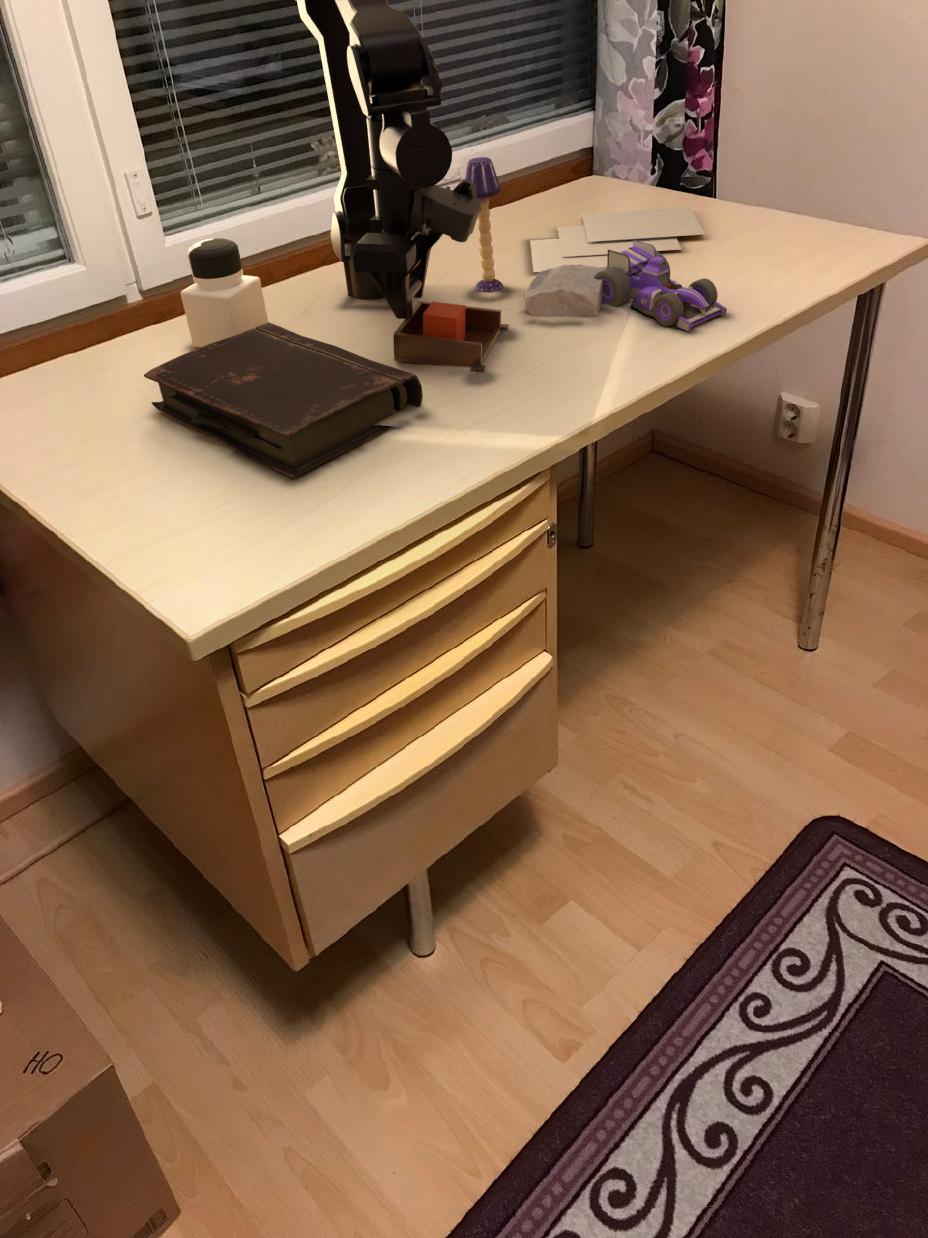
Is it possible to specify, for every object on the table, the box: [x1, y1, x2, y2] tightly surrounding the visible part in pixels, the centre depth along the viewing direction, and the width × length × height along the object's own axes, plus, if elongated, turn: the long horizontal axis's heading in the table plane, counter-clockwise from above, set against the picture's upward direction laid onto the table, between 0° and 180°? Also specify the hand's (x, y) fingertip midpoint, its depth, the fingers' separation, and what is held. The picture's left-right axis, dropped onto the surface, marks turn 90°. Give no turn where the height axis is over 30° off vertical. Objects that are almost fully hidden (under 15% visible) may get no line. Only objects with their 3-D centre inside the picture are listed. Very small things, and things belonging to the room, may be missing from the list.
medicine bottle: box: [180, 237, 269, 348], centre depth 123 cm, size 7×7×12 cm
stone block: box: [524, 264, 607, 318], centre depth 126 cm, size 12×5×10 cm
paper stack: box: [529, 205, 706, 273], centre depth 146 cm, size 23×25×1 cm
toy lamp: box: [464, 156, 505, 293], centre depth 128 cm, size 5×5×17 cm
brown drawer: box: [392, 276, 502, 368], centre depth 115 cm, size 11×10×7 cm
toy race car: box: [594, 240, 728, 332], centre depth 123 cm, size 10×15×6 cm, turn 39°
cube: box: [423, 301, 466, 341], centre depth 116 cm, size 4×4×4 cm
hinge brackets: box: [469, 323, 510, 375], centre depth 116 cm, size 2×14×1 cm, turn 166°
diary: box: [143, 321, 424, 479], centre depth 107 cm, size 19×25×5 cm
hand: (409, 307), depth 116 cm, fingers closed on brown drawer, 6 cm apart
